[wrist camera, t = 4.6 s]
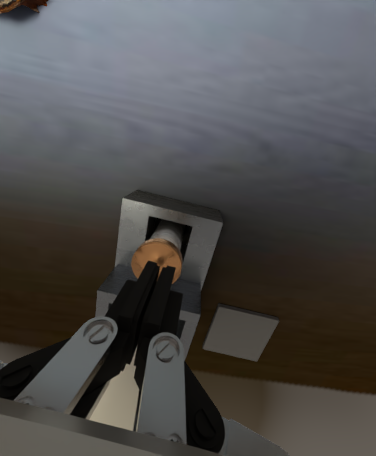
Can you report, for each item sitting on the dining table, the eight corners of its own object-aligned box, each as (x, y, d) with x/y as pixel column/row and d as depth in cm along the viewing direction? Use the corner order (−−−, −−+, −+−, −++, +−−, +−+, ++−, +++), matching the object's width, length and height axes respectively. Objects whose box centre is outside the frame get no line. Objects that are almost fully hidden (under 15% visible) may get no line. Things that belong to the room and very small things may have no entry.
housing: (137, 189, 20) (99, 210, 13) (219, 210, 21) (229, 242, 13) (117, 335, 28) (87, 399, 21) (176, 348, 29) (167, 417, 21)
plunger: (191, 215, 21) (186, 251, 13) (184, 245, 22) (175, 292, 14) (159, 207, 20) (134, 238, 13) (153, 237, 22) (128, 281, 14)
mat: (277, 317, 25) (279, 320, 25) (255, 357, 28) (256, 361, 28) (218, 303, 25) (218, 306, 24) (202, 345, 28) (202, 348, 27)
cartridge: (180, 293, 20) (146, 509, 8) (170, 327, 22) (131, 545, 10) (132, 281, 20) (24, 483, 8) (127, 317, 22) (32, 525, 10)
